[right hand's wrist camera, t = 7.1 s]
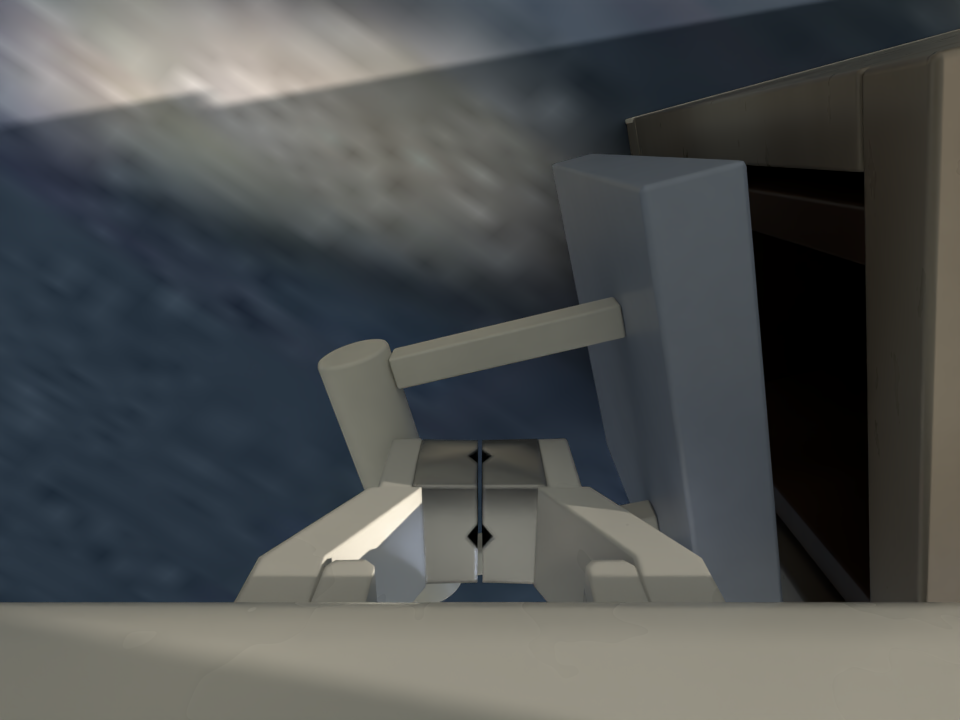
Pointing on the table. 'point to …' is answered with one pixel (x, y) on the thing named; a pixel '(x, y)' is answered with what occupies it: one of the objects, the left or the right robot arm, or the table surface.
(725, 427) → the drawer
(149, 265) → the table surface
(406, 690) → the right robot arm
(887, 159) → the cabinet
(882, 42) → the table surface
